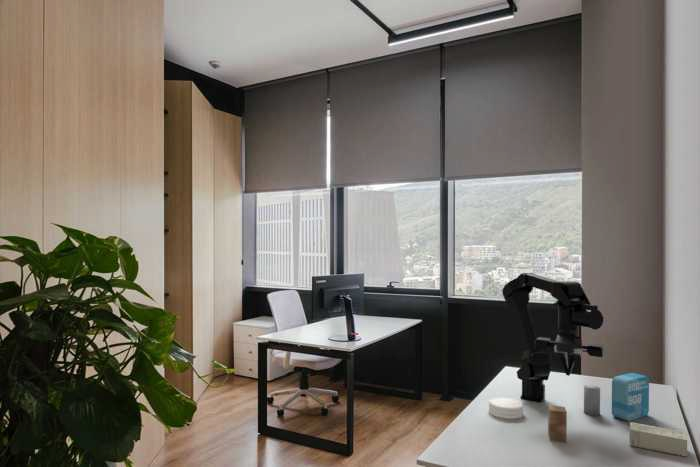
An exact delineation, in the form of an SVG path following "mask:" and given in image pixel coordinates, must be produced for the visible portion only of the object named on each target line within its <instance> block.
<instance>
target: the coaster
mask: <svg viewBox="0 0 700 467" xmlns="http://www.w3.org/2000/svg"><path fill="white" fill-rule="evenodd" d="M524 407H525V406H524V404H523V403H522V402H521V401H519V400H517V399H515V398H514V399H513V398H510V397H502V396H500V397H492V398H491V399H489V400H488V412H489V414H490V415H492V416H494V417H496V418H499V417H500V418H499V419H503V418H505V419H504V420H519V419H521V418H523V416H524ZM518 418H519V419H518Z"/></svg>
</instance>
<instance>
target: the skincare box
mask: <svg viewBox="0 0 700 467" xmlns="http://www.w3.org/2000/svg"><path fill="white" fill-rule="evenodd" d="M629 422H630V421H629ZM629 425H630V426H629V446H631V447H636V448H641V449H646V450H650V451H656V452H661V453H666V454H670V455H675V454H676V455H675V456H680V455H684V456H683V457H685V456H687V457H688V437H687V434H686V431H682V430H676V429H670V428H665V427H661V426H660V427H659V426H653V425H647V424H642V423H637V422H633V421H631V422H630V424H629Z"/></svg>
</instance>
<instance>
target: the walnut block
mask: <svg viewBox="0 0 700 467" xmlns="http://www.w3.org/2000/svg"><path fill="white" fill-rule="evenodd" d="M567 414H568V413H567V410H566V407H565V406H559V405H552V404H551V405H550V404H548V416H547V417H548V418H547V420H548V422H547V424H548V425H547V431H548V432H547V436H548V439H549V440H548V441H550V442H555V443H564V444H566V443H567V435H568V434H567V432H568V430H567V427H568V426H567V424H568V422H567V418H568V417H567V416H568V415H567Z"/></svg>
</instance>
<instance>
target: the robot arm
mask: <svg viewBox="0 0 700 467" xmlns="http://www.w3.org/2000/svg"><path fill="white" fill-rule="evenodd" d="M534 288H535V289H538V290H541V291H544V292H547V293H549V294H550V295H551V296H552V297H553V298H555V299H556V301H555V302H554V303H553V305H552V306H553V307H557V308H558V309H557V333H556V336H555V341H551V338H550V337H543V336H539V337H537V336H536V331H535V329H534V325H533V322H532V318H531V315H530V311H529V308H528V305H529V303H530V294H531V293H532V292H533V291H534ZM501 293H502V296H503V298H504V301H505V304H507V306H509V307H510V309H511V310H512V312H513V316H514V318H515V322H516V323H515V324H516V327H517V330H518V333H519V337H520V341H521V344H522V348H523V353H522V356H521V364H522V366H521V367H520V368H519V369H518V370H517V371H516V377H517V379H518V380H520V381H521V395H520V399H521V400H527V401H534V402H538V403H541V402H543V400H545V397H546V385H545V384H544V381H548V380H549V377H550V374H551V371H552V366H551V365H552V362H551V360H550V356H549V353H548V351H546V350H547V348H552V349H554V352H553V353H554V355H557V356H558V357H559V359H560V361H561V364H562V366H563V369H564V372H565V375H566V376H570V375H571V373H572V369H573V367H574V364H575V362H576V359H577V358H582V355H583V352H584V353H587V354H588V355H589V356H590V357H597V358H603V357H604V354H605V347H604V345H603V344H602V343H595V342H588V344H587V345H586V344H585V345H584V344H583V337H582V336H580V327H581V328H586V329H590V330H595V331H597V330H599V329H600V328H601V327H602V325H603V323H604V316H603V314H602V312H601V311H600V310H599V308H598V305H596V304H591V302H590V299H589V298H588V297H587V294H586V292H585V290H584V288H583V287H582V284H581V283H580V282H578V281H567V280H564V281H562V280H561V281H560V280H556V279H553V278H549V277H546V276H543V275H538V274H536V273H534V272H522V273H520V274H519V275H518V276H517V277H515V278H514V279H511V280H509V282H507V283H506V284H505V285H504V286H503V288H502V292H501ZM543 351H544V352H543ZM568 354H569V358H568Z"/></svg>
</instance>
